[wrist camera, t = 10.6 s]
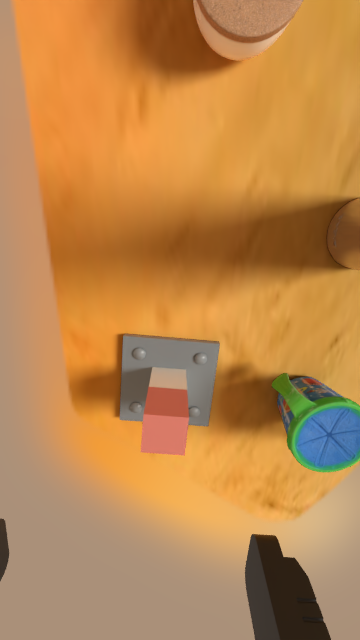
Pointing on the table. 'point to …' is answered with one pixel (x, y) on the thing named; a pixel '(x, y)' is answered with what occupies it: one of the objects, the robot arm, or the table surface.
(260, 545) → the robot arm
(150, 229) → the table surface
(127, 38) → the table surface
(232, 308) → the table surface
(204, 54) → the table surface
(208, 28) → the lidded jar
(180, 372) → the cream brick
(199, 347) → the base plate
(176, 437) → the red brick
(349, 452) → the snack cup
